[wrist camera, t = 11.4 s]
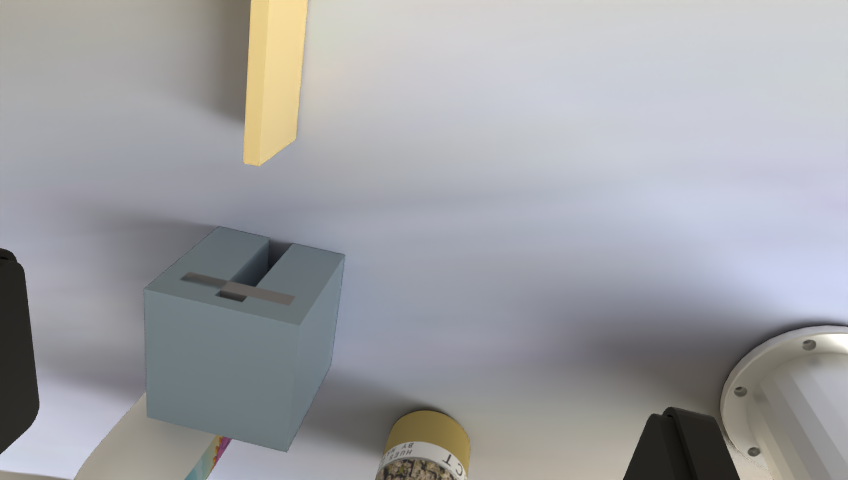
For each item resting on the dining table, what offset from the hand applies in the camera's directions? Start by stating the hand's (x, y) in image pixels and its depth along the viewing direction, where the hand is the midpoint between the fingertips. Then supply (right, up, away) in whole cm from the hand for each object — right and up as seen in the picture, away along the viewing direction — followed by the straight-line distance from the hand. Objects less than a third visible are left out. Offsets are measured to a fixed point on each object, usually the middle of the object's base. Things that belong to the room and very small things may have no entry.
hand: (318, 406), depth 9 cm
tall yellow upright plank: (-7, +15, +31) cm, 35 cm away
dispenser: (-10, -2, +39) cm, 41 cm away
